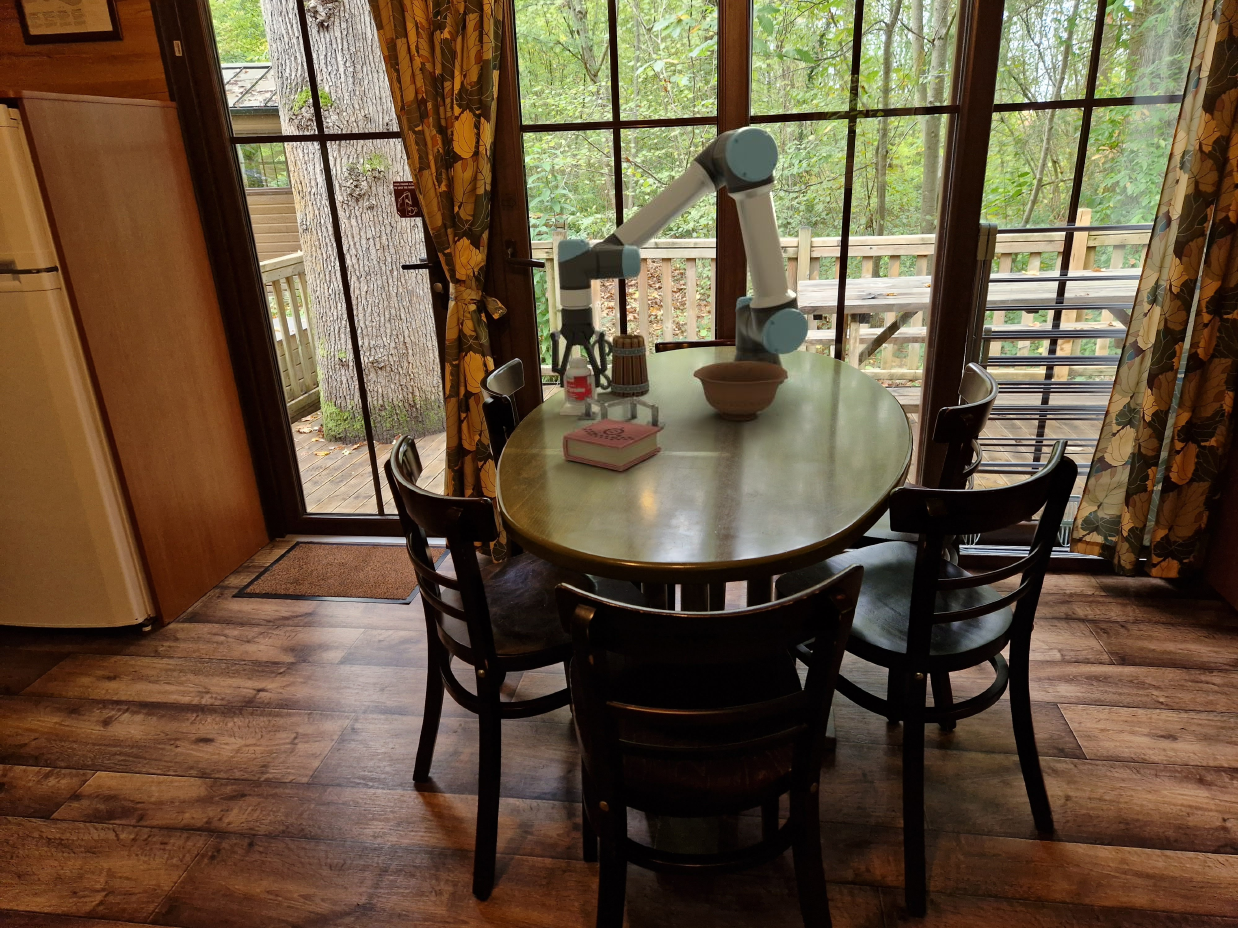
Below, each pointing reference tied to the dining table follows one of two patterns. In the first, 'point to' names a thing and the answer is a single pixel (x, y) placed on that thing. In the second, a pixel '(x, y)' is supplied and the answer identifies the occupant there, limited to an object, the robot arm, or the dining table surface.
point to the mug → (626, 366)
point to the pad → (576, 409)
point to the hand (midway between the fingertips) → (581, 400)
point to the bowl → (740, 387)
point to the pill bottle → (578, 381)
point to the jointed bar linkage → (631, 400)
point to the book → (611, 444)
